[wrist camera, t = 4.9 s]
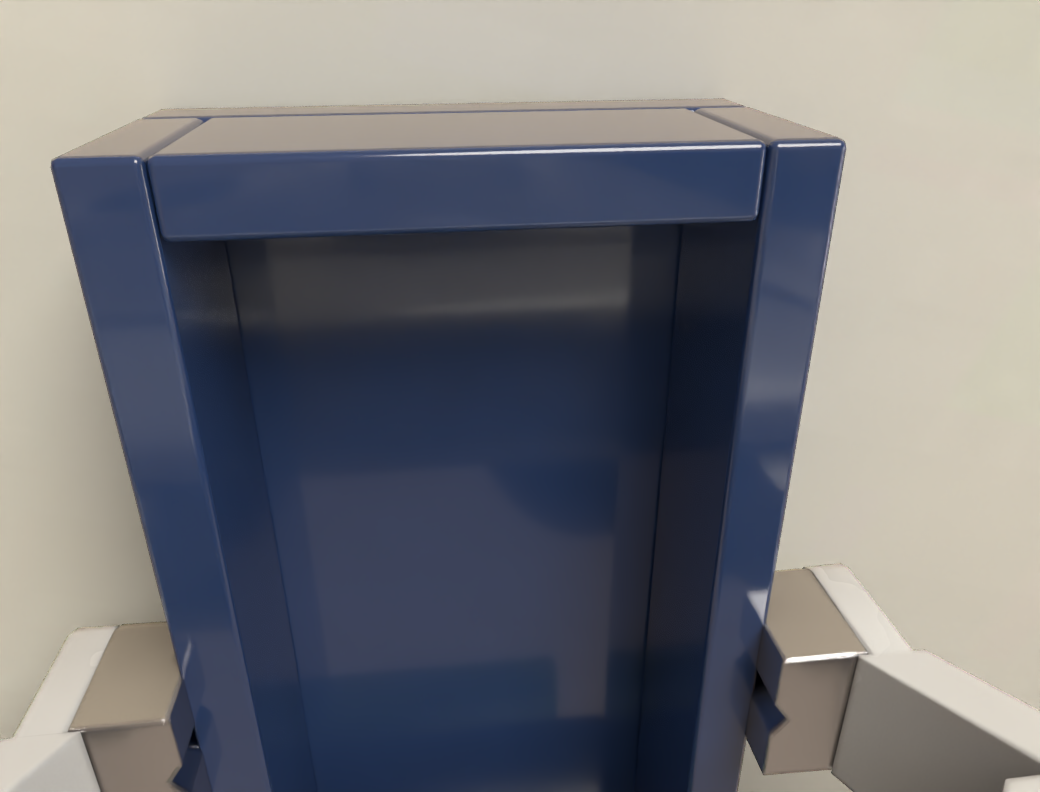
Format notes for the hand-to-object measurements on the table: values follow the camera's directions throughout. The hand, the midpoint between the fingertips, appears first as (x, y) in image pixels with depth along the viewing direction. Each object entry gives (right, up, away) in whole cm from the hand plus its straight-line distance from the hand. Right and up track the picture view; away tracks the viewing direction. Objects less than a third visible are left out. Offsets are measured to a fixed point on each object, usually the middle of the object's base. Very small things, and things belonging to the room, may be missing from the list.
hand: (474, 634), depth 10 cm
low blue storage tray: (0, +1, +1) cm, 2 cm away
